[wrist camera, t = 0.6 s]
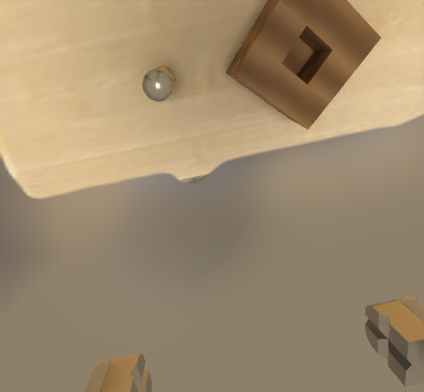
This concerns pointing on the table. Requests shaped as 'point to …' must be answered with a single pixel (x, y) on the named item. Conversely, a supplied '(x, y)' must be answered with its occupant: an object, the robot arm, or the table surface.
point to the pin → (158, 84)
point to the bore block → (302, 54)
